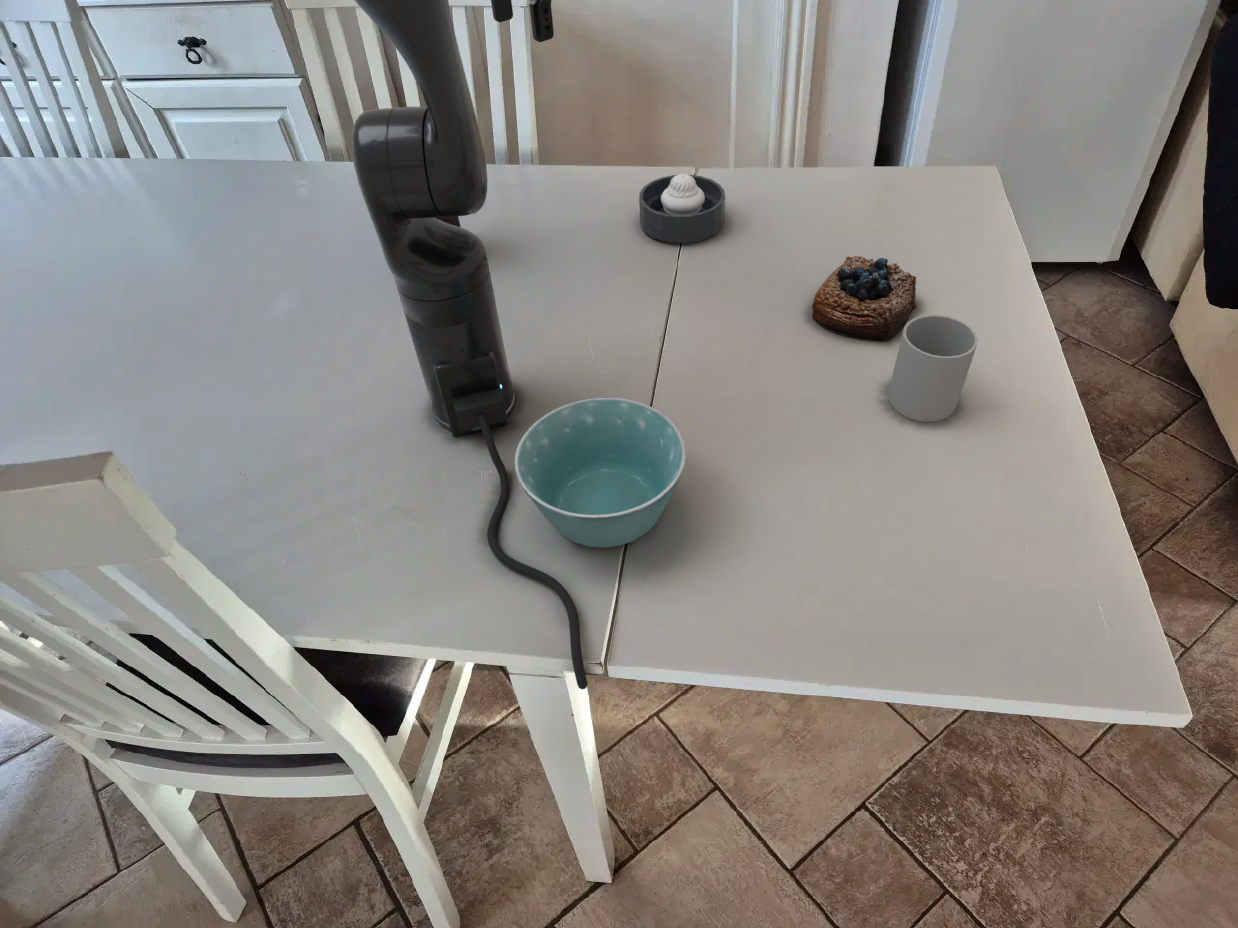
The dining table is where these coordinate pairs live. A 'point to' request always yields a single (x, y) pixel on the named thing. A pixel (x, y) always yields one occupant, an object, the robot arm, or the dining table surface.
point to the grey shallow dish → (681, 225)
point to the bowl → (601, 469)
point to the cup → (931, 367)
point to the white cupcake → (682, 196)
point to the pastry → (865, 300)
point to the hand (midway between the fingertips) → (523, 30)
